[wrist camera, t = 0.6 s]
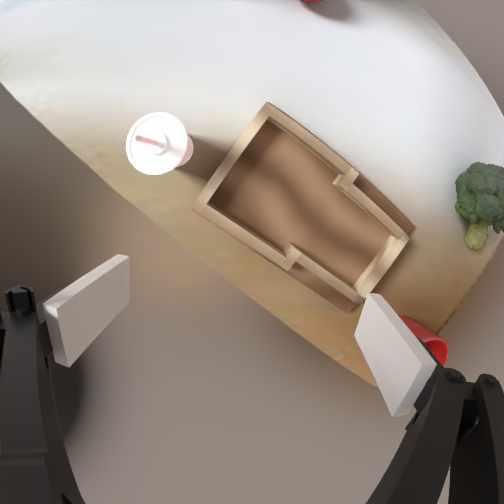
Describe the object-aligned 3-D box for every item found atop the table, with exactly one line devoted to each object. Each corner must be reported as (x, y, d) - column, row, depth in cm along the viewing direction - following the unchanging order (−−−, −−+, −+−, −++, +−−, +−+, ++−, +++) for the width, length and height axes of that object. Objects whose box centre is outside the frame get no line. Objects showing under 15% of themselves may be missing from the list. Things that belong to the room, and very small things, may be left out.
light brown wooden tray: (266, 103, 31) (270, 96, 28) (409, 224, 37) (424, 229, 33) (192, 208, 35) (187, 213, 31) (345, 310, 40) (354, 322, 36)
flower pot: (364, 367, 44) (386, 404, 35) (369, 315, 41) (397, 350, 31) (414, 352, 44) (440, 382, 35) (422, 301, 41) (455, 329, 32)
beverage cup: (146, 167, 33) (95, 169, 19) (159, 120, 31) (115, 95, 18) (191, 178, 34) (163, 185, 20) (205, 131, 32) (186, 107, 19)
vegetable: (440, 257, 36) (466, 172, 26) (443, 211, 43) (458, 138, 33) (502, 277, 31) (539, 199, 20) (496, 228, 38) (518, 159, 27)
